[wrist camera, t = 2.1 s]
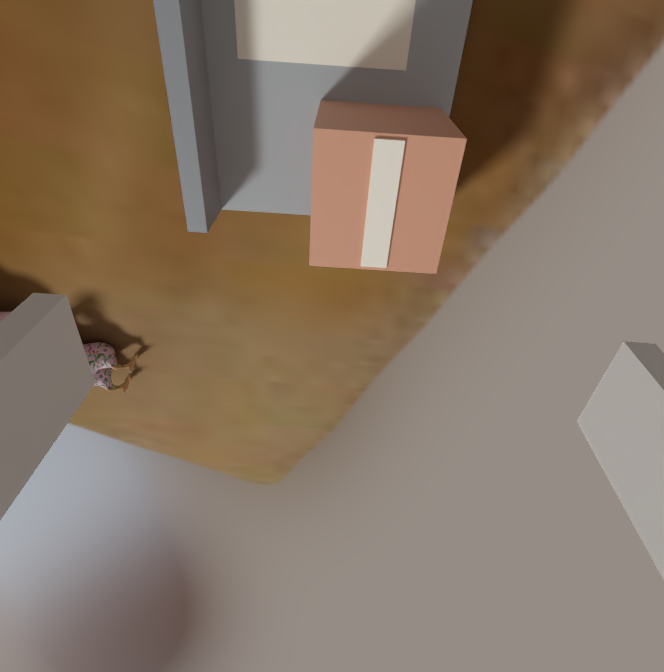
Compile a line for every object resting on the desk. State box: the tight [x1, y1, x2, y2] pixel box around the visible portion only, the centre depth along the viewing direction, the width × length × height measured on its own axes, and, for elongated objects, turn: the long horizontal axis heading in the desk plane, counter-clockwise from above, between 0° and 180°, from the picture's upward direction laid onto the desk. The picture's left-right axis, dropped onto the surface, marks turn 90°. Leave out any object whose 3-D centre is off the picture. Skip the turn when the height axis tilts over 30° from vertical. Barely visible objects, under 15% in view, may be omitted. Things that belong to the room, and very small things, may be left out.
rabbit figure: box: [0, 312, 137, 394], centre depth 30 cm, size 6×6×15 cm
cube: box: [309, 100, 467, 274], centre depth 21 cm, size 6×6×6 cm
